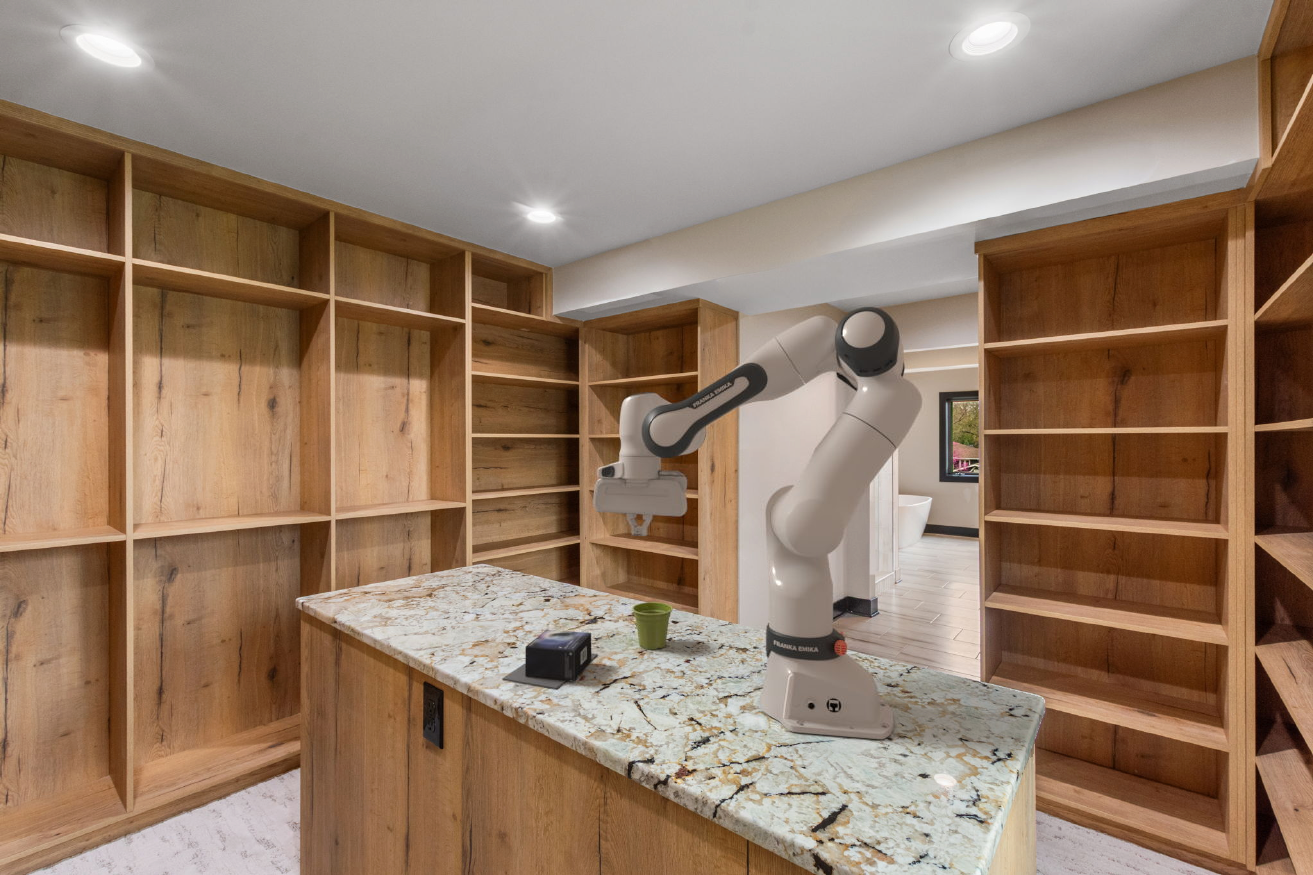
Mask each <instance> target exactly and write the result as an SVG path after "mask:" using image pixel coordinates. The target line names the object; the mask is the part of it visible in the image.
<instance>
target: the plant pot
mask: <svg viewBox="0 0 1313 875" xmlns="http://www.w3.org/2000/svg"><path fill="white" fill-rule="evenodd" d="M673 608H674V607H673V606H672V605H671V604H670V603H669V604H668V603H666V602H658V601H657V602H656V601H653V602H652V601H651V602H649V601H648V602H639V603H636V604H634V605H633V606H632V607H631V610H632V612H633V613H634V614H633V615H634V618H635V623H636V630H637V638H638V644H639V646H640V647H641V648H642V649H645V650H652V651H653V650H657V649H659V648H660V649H663V648H665V647H666V645H667V638H668V630H669V622H670V617H671V613H672V612H673Z"/></svg>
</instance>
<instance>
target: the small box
mask: <svg viewBox="0 0 1313 875" xmlns="http://www.w3.org/2000/svg"><path fill="white" fill-rule="evenodd" d="M591 653H592V632H585V631H583V632H582V631H581V632H580V631H570V630H569V631H567V630H554V629H545V630H544V631H543V632H541V633H540V634H539V635H538V636H537V637H535V638H534V639H533V640H532V641H530V642H529V643H527V645H526V646H525V658H524V659H525V660H524V661H525V663H524V664H525V676H526V677H537V678H547V679H558V680H566V682H576V680H577V679H578V678H579V676H581V674H582V673H583V672H584V671H585V669H587V667H588V666H589V664H590V663H591V662H592V661H591Z"/></svg>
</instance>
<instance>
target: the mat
mask: <svg viewBox="0 0 1313 875" xmlns="http://www.w3.org/2000/svg"><path fill="white" fill-rule="evenodd" d="M596 657H598V653H594V652H593V653H592V652H591V662H592V661H593V660H594V659H595V658H596ZM501 680H503V681H507V682H511V681H512V682H511V683H517V684H518V683H519V684H524V685H528V686H529V685H530V686H534V687H541V688H546V689H553V690H558V689H559V688H561V686H563V684H565V683H566V682H567V681H566V680H558V679H547V678H537V677H526V676H525V663H523V664H521V665H520V666H519V667H517V668H516V669H514V670H513V671H511V672H509V673H508V674H507V675H505V676H503V677H502V679H501Z"/></svg>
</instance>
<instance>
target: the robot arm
mask: <svg viewBox="0 0 1313 875" xmlns="http://www.w3.org/2000/svg"><path fill="white" fill-rule="evenodd" d="M904 351H905V350H904V344H903V342H902V338H901V335H900V331H899V327H898V325H897V323H896V321H895V320H894V319H893V317H892V316H891V315H890V314H889V313H888V312H886V311H885V310H883V309H881V308H877V307H874V306H865V307H859V308H856V309H854V310H852V311H850V312H848V313H847V314H846V315H844V317H843V318H842V319H841V320H840V321H839V323H837V322H836V321H835V319H834V320H833V319H832V318H831V317H829V316H826V315H823V314H822V315H815V316H812V317H810V318H808V319H805V320H803V321H801V322H799V323H796V324H795V325H793V326H791V327H789V328H787V329H786V330H784V331H782V332H780V333H779V334H777V335H776V336H775V337H773V338H771V339H769V340H768V341H767V342H765V343H764V344H763V345H762V346H760V347H759V348H757V349H756V350H755V351H754V352H752V353H751V354H750V355H749V356H748V357H747V358H746V359H744V360H743V361H742V362H741V363H739V364H738V365H737V366H735V367H734V368H733V369H732V370H731V371H730V372H728V373H726V375H724V376H722V377H721V378H719V379H718V380H716V381H714V382H712V383H711V384H710V385H708V386H706V387H704V388H702V389H700V391H698V392H696V393H694V394H693V395H691V396H689V397H688V398H686V399H684V400H681V401H679V402H675V403H671V402H669V401H668V400H666V399H664V398H663V397H661V396H660V395H659V394H658V393H656V392H653V391H652V392H651V391H649V392H639V393H635V394H631V395H629V396H627V397H626V398H625V399H624V400H623V401H622V403H621V407H620V413H619V414H620V415H619V429H618V432H619V433H618V434H619V439H620V451H619V452H618V453H619V456H618V461H616V462H612V463H610V464H607V465H604V466H600V467H598V468H597V472H596V475H597V478H599V479H597V481H596V482H595V484H594V489H593V490H594V491H593V502H592V504H593V508H594V510H595V512H598V513H613V514H614V513H615V514H626V520H627V522H628V524H629V526H630V527H631V536H638V537H639V536H640V537H646V536H648V527H649V525H650V523H651V522H652V521H653V516H664V517H665V516H666V517H667V516H668V517H682V516H683V515H685V514H686V512H687V510H688V501H687V492H686V491H687V488H688V478H687V476H686V475H685V474H683V473H682V472H681V471H679V470H672V471H671V470H664V469H663V470H662V466H661V465H662V459H672V458H676V457H678V456H683V455H688V454H691V453H694V452H695V451H697V450H698V449H699V448H701V447H702V445H703V444H704V442H705V440H706V436H707V427H708V426H709V425H711V424H713V423H714V422H716V421H717V420H719V419H721V418H723V417H724V416H726V415H727V414H729V413H730V412H732V411H734V410H735V409H738V408H740V407H742V406H745V405H748V404H752V403H756V402H758V403H759V402H767V401H774V400H776V399H779V398H781V397H784V396H787V395H789V394H790V393H793V392H795V391H796V390H798V389H800V388H802V387H803V386H805V385H807V384H808V383H810V382H811V381H812V380H814V379H816V378H818V377H820V376H821V375H823V374H826V373H829V372H834V373H836V377H837V378H838V379H839V380H840V381H842V382H843V383H845V384H846V385H848V387H850V389H853V390H854V391H855V395H854V397H853V398H852V400H851V401H850V403H849V404H848V405H847V407H846V408H845V409H844V411H842V413H841V414H840V416H839V417H838V418H837V419H836V421H834V423H833V425H832V426H831V427H830V428H829V430H828V431H827V432H826V433H825V435H824V436H823V438H822V439H821V440H820V441H819V443H818V444H817V446H816V447H815V448H814V450H813V452H812V455H811V456H810V459H809V460H808V462H807V464H806V466H805V468H804V469H803V470H802V472H801V474H800V476H799V477H798V479H797V481H796V482H795V484H790V485H786V486H783V487H780V488H779V489H777V490H776V491H775V492H774V493H773V494H772V495H771V496H770V497H769V500H768V501H767V503H766V508H765V537H766V552H767V553H766V554H767V569H768V588H769V589H768V623H767V625H766V629H765V651H766V652H765V654H766V657H767V660H766V669H765V676H764V681H763V687H762V690H761V694H760V696H759V698H758V699H759V700H758V705H759V707H760V709H761V710H762V711H763V712H764V713H765V714H766V715H768V716H769V717H771V718H773V719H775V720H776V721H778V722H780V723H781V724H782V725H783V726H784V727H785V728H786V729H787V730H788V731H790V732H791V733H792V732H793V733H798V734H799V733H802V734H815V735H822V736H823V735H825V736H836V737H837V736H839V737H846V738H847V737H849V738H861V739H862V738H863V739H873V740H875V739H876V740H884V739H886V738H888V737H889V736H890V735H891V734H892V732H893V730H894V727H895V720H894V714H893V711H892V708H891V706H890V705H889V704H888V702H886V701H885V700H884V699H882V698H881V697H880V695H879V689H878V686H877V684H876V681H875V679H874V677H873V676H872V674H871V672H869V671H868V670H867V669H866V668H864V667H863V666H862V665H861V664H859V663H858V662H857V661H856V660H855V659H854V658H852V657H851V656H850V655H849V654H848V653H847V652H848V645H847V642H846V637H845V636H844V633H843V631H842V630H840V632H839V631H838V630H836V629H835V628H834V583H833V579H832V575H831V567H830V563H829V560H830V559H829V554H831V553H832V552H834V551H835V550H836V549H837V548H838V547H839V546H840V544H841V543H842V541H843V538H844V534H845V529H846V527H847V526H848V525H849V523H850V522H851V521H850V520H851V519H852V518H853V515H854V513H855V512H856V509H857V508H858V506H859V504H860V502H861V500H862V498H863V496H864V494H865V493H866V491H867V490H868V488H869V486H870V485H871V483H872V482H873V480H874V479H876V477H877V475H878V474H879V473H880V471H881V470H882V469H883V467H884V466H885V465H886V463H887V462H888V461H889V459H890V458H892V456H893V454H895V451H896V450H897V449H898V448H899V447H900V446H901V444H902V443H903V441H904V440H905V438H906V437H907V435H908V434H909V432H910V430H911V428H912V427H913V425H914V423H915V421H916V419H917V417H918V415H919V413H920V412H921V410H922V406H923V397H922V393H921V392H920V391H919V389H918V387H917V386H916V385H915V384H914V383H913V382H911V381H910V380H909V379H908V378H905V377H904V374H905V368H906V367H905V361H904ZM637 515H642V520H644V522H643V524H642V526H641V525H638V524H637V522H636V518H637Z"/></svg>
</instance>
